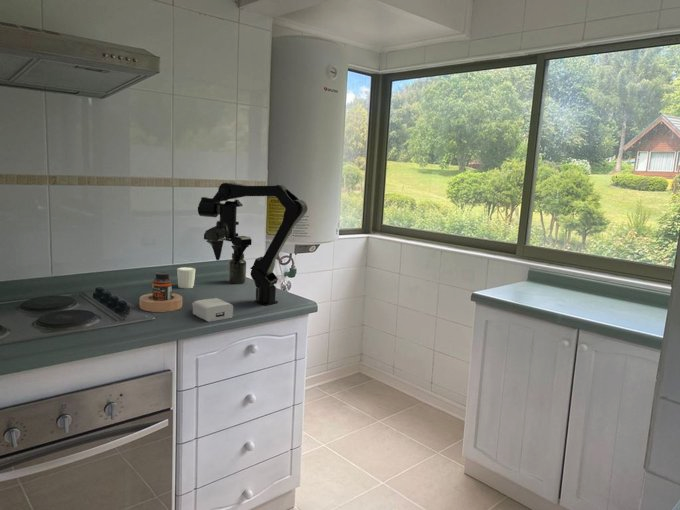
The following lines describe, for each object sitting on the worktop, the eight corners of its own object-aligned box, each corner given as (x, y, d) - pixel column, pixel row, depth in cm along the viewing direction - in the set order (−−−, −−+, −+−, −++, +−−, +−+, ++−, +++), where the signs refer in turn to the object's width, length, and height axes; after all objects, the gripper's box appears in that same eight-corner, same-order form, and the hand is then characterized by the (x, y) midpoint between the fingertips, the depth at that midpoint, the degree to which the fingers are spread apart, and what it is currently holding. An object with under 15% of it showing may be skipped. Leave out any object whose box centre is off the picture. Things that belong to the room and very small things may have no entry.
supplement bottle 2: (240, 280, 215) (241, 251, 214) (248, 283, 210) (249, 254, 208) (225, 281, 211) (226, 252, 209) (233, 285, 206) (234, 255, 204)
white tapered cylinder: (190, 289, 195) (190, 271, 193) (173, 287, 196) (173, 269, 194) (198, 285, 201) (198, 267, 200) (181, 283, 202) (181, 266, 201)
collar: (190, 306, 171) (190, 298, 171) (156, 314, 161) (156, 305, 160) (165, 299, 179) (165, 290, 178) (131, 305, 168) (131, 296, 168)
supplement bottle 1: (149, 308, 167) (149, 274, 165) (155, 303, 173) (155, 270, 171) (168, 309, 167) (168, 275, 165) (173, 304, 173) (174, 271, 171)
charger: (208, 307, 174) (232, 318, 163) (183, 310, 167) (206, 322, 157) (209, 293, 173) (233, 303, 162) (183, 296, 167) (207, 307, 156)
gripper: (192, 216, 180) (191, 260, 183) (229, 222, 170) (227, 269, 172) (216, 215, 189) (215, 257, 192) (253, 221, 179) (251, 265, 181)
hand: (226, 262), depth 184 cm, fingers open, 9 cm apart
